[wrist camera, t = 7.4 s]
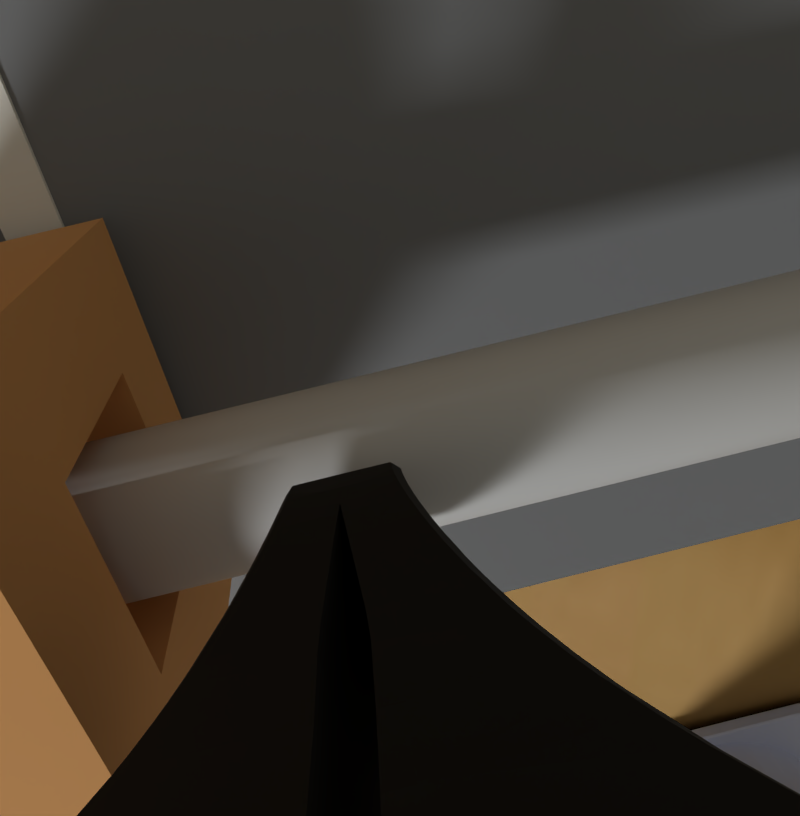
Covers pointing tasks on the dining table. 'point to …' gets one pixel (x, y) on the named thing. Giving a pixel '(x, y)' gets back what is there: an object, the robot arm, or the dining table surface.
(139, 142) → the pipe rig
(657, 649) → the dining table surface
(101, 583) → the collar
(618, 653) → the dining table surface
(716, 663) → the dining table surface
